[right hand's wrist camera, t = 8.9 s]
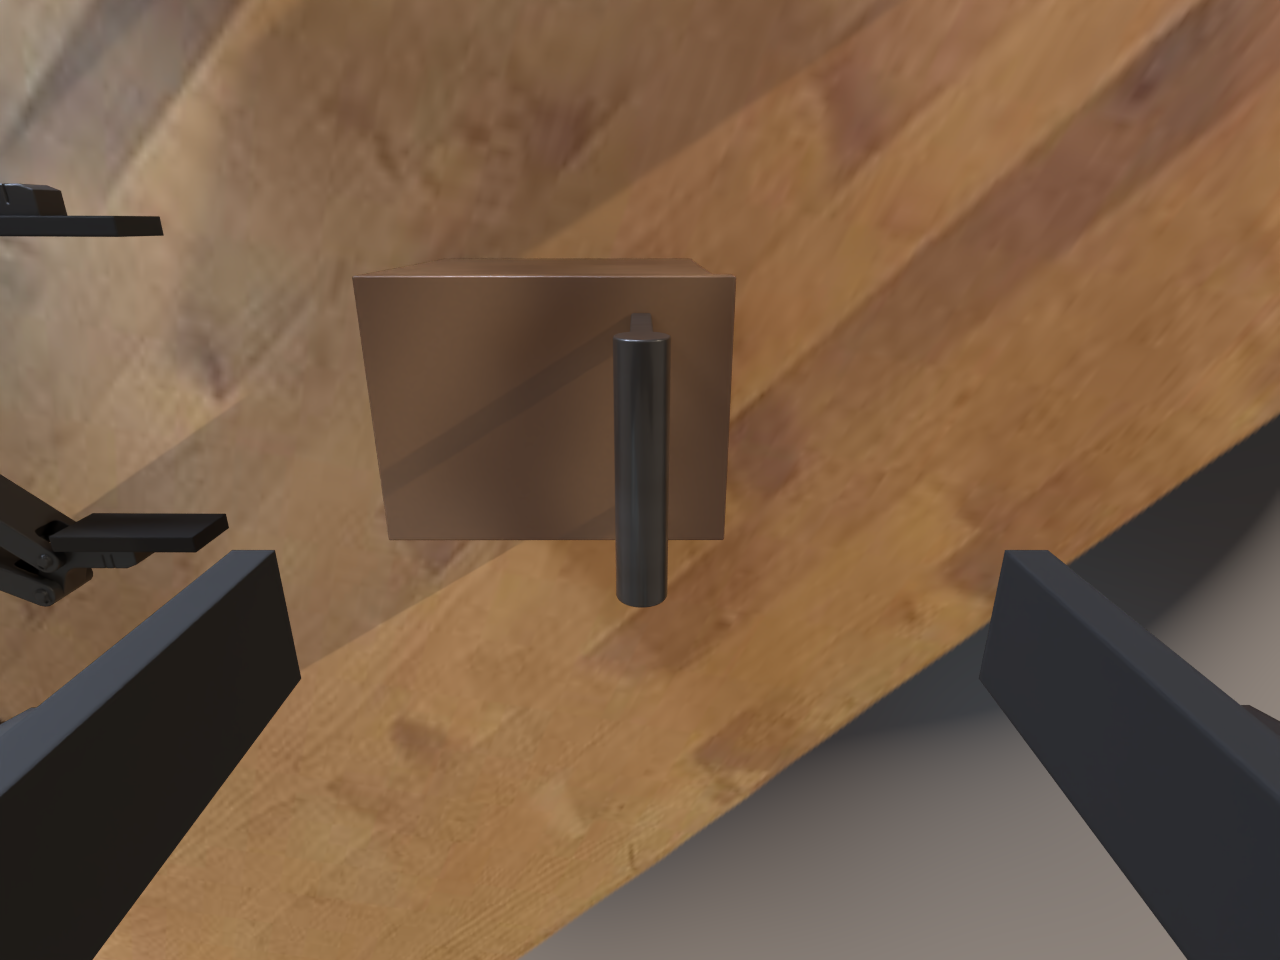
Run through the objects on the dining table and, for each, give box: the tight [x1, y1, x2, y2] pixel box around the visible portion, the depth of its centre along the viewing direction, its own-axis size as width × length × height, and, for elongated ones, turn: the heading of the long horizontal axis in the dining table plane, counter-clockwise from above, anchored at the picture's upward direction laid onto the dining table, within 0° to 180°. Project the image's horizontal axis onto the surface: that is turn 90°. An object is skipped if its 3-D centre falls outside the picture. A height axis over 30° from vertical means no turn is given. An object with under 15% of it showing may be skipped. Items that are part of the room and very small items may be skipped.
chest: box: [367, 259, 711, 274], centre depth 31 cm, size 12×10×11 cm
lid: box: [352, 274, 736, 607], centre depth 23 cm, size 13×10×8 cm
